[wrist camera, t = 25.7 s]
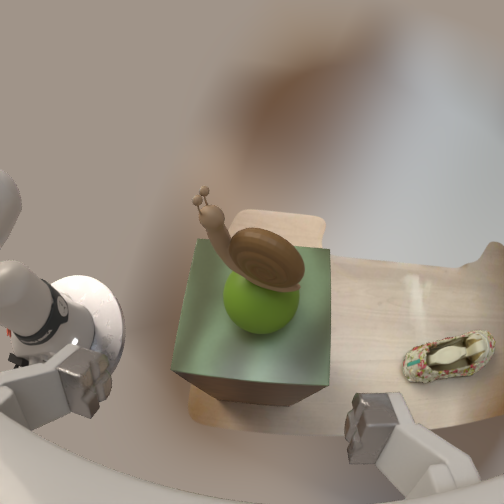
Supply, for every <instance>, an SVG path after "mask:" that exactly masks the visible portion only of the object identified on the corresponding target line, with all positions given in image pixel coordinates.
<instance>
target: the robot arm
mask: <svg viewBox="0 0 504 504" xmlns="http://www.w3.org/2000/svg"><path fill="white" fill-rule="evenodd" d="M21 210H22V203H21V197H20V193H19V189H18V187H17V185H16V184H15V182H14V180H13V179H12V178H11V177H10V176H9V175H8V174H7V173H6V172H5V171H3V170H1V169H0V249H1V247H2V246H3V244H4V243H5V241H6V240H7V239H8V237H9V235H10V233H11V231H12V229H13V226H14V225H15V223H16V220H17V218H18V216H19V214H20V212H21ZM0 325H1V326H4V327H5V328H7V336H8V335H9V336H10V337H11V345H12V349H13V352H14V354H15V355H14V354H12V353H10V355H9V359H8V361H10V362H12V363H15V364H16V365H15V367H14V369H12V370H7V371H3V372H0V504H259V503H249V502H243V501H235V500H229V499H222V498H216V497H211V496H205V495H201V494H196V493H191V492H187V491H183V490H179V489H174V488H171V487H167V486H163V485H160V484H156V483H153V482H149V481H146V480H143V479H140V478H137V477H133V476H131V475H128V474H125V473H122V472H119V471H117V470H114V469H111V468H109V467H106V466H104V465H101V464H98V463H96V462H94V461H91V460H89V459H87V458H84V457H82V456H80V455H78V454H75V453H73V452H71V451H69V450H67V449H65V448H62V447H61V446H59V445H57V444H55V443H52V442H50V441H49V440H47V439H45V438H43V437H41V436H40V435H38V434H36V433H34V432H32V430H34V429H36V428H39V427H41V426H43V425H45V424H47V423H50V422H51V421H54V420H56V419H58V418H60V417H63V416H64V415H67V414H69V413H70V412H74V413H76V414H79V415H81V416H84V417H87V418H90V419H91V418H92V417H93V415H94V414H95V413H96V412H97V410H98V409H99V407H100V406H99V402H101V401H104V400H106V399H107V397H108V396H109V394H110V391H111V388H112V378H111V375H110V373H109V372H108V371H107V368H108V366H109V362H108V357H107V356H106V355H105V354H102V353H99V352H95V351H92V350H89V349H90V347H91V344H92V342H93V337H94V322H93V319H92V316H91V314H90V312H89V311H88V309H87V308H86V307H85V306H83V305H82V304H80V303H77V302H75V301H73V300H72V298H71V297H70V296H69V295H68V294H66V293H61V292H59V291H58V290H56V289H55V288H54V287H53V286H51V284H50V283H48V282H46V281H45V280H43V279H40V278H39V277H38V276H36V275H35V274H34V273H33V272H32V271H31V270H30V269H29V268H28V267H27V266H26V265H25V264H23V263H21V262H19V261H14V260H7V261H2V262H0ZM19 366H20V367H21V368H18V367H19ZM352 406H353V409H352V410H351V411H350V412H348V414H347V417H346V421H345V427H344V434H345V439H346V440H347V441H348V442H349V446H348V448H347V452H348V458H349V464H375V466H376V467H377V468H378V469H379V470H380V471H381V472H382V473H383V474H384V475H385V477H386V478H387V479H388V480H389V481H390V482H391V483H392V484H393V485H394V486H395V487H396V488H397V489H398V490H399V491H400V492H401V493H402V494H403V495H404V497H405V499H404V500H400V501H393V502H385V503H376V504H504V474H502V475H499V476H496V477H493V478H490V479H487V480H485V481H482V480H481V478H480V475H479V473H478V471H477V469H476V467H475V465H474V463H473V461H472V459H471V457H470V456H469V455H467V454H466V453H464V452H462V451H461V450H459V449H457V448H456V447H455V446H453V445H452V444H450V443H448V442H447V441H445V440H444V439H442V438H441V437H439V436H438V435H436V434H434V433H433V432H432V431H430V430H429V429H427V428H426V427H424V426H423V425H421V424H420V423H417V424H415V422H414V419H413V417H412V415H411V413H410V410H409V408H408V406H407V404H406V402H405V400H404V397H403V395H402V394H401V393H400V392H387V393H356V394H355V396H354V397H353V400H352Z"/></svg>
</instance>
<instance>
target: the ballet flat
mask: <svg viewBox="0 0 504 504" xmlns="http://www.w3.org/2000/svg"><path fill="white" fill-rule="evenodd" d="M494 345H495V339H494V338H493V337H492V335H491V334H490V332H487V331H482V330H478V331H470V332H468V333H466V334H464V335H463V334H462V336H457V337H456V336H455V338H454V337H452V338H450V337H449V338H448V337H447V338H445V340H443V339H442V340H441V341H440V340H439V341H438V340H437V341H436V342H432V343H429V342H428V343H426V344H425V345H421V346H416V347H414V348H413V350H412V351H411V352H409V353H407V354H406V359H405V361H404V362H403V367H404V368H403V369H404V375H406V376H407V378H408V380H409V381H410V382H424V383H427V382H428V381H429V382H430V381H431V382H432V381H434V380H435V379H438V378H440V379H441V378H443V377H444V378H446V379H447V378H449V377H453V376H472V375H473V373H476V372H478V370H480V369H481V368H482V367H484V366H485V365H486V363H487V362H488V361H489V360H490V359H491V358H492V355H493V354H494V351H495V346H494Z"/></svg>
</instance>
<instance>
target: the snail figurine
mask: <svg viewBox="0 0 504 504" xmlns="http://www.w3.org/2000/svg"><path fill="white" fill-rule="evenodd" d="M199 194H200V195H201V196H204V199H205V203H206V206H204V207H203V208H201V210H200V209H199V205H200V204H202V197H201V196H200V195H195V196H194V197H193V199H192V203H193V204H194V205H196V206H197V207H198V210H199V221H200V223H201V224H202V226H203V227H204V228H205V229H206V231H207V235H208V238H209V240H210V242H211V244H212V246H213V248H214V249H215V251H216V253H217V254H218V255H219V257H220V258H221V259H222V261H223V262H224V263H225V264H226V265H227V266H228V267H229V268H230V269H231V270H232V272H231V274H230V275H229V277H228V279H227V281H226V283H225V286H224V291H223V301H224V306H225V309H226V312H227V314H228V315H229V317H230V318H231V320H232V321H233V322H234V323H235V324H236V325H237V326H239V327H240V328H241V329H243V330H245V331H248V332H251V333H255V334H268V333H272V332H275V331H277V330H279V329H281V328H283V327H284V326H285V325H287V324H288V323H289V322H290V321H291V319H292V318H293V317H294V315H295V313H296V311H297V308H298V305H299V298H300V293H299V289H300V288H301V286H300V284H299V282H300V281H301V280H302V278H303V276H304V272H305V265H304V261H303V259H302V257H301V255H300V253H299V252H298V251H297V249H296V248H295V247H294V246H293V245H292V244H291V243H289V242H288V241H287V240H285V239H284V238H282V237H281V236H279V235H277V234H275V233H273V232H270V231H268V230H264V229H260V228H246V229H243V230H240V231H238V232H237V233H236V234H235V235H234V236H233V237H232V239H231V237H230V234H229V232H228V230H227V229H226V227H225V225H224V220H225V218H224V213H223V212H222V210H221V209H220V208H219V207H217V206H215V205H208V204H207V202H206V198H205V196H207V195H208V194H209V188H208V187H206V186H202V187H201V188H200V190H199Z"/></svg>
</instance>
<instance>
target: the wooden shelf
mask: <svg viewBox="0 0 504 504" xmlns="http://www.w3.org/2000/svg"><path fill="white" fill-rule="evenodd" d="M294 247H295V248H296V249H297V251H298V252H299V253H300V255H301V257H302V259H303V261H304V265H305V272H304V276H303V278H302V280H301V281H300V282H299V284H300V286H301V288H300V289H299V293H300V298H299V305H298V308H297V311H296V313H295V315H294V317H293V318H292V319H291V321H290V322H289V323H288V324H287V325H285V326H284V327H283V328H281V329H279V330H277V331H275V332H272V333H268V334H255V333H251V332H248V331H245V330H243V329H241V328H240V327H239V326H237V325H236V324H235V323H234V322H233V321H232V320H231V318H230V317H229V315H228V314H227V312H226V309H225V306H224V301H223V291H224V286H225V283H226V281H227V279H228V277H229V275H230V274H231V272H232V270H231V269H230V268H229V267H228V266H227V265H226V264H225V263H224V262H223V261H222V259H221V258H220V257H219V255H218V254H217V253H216V251H215V249H214V248H213V246H212V244H211V242H210V240H209V239H197V242H196V247H195V251H194V255H193V259H192V264H191V268H190V273H189V278H188V282H187V287H186V292H185V296H184V301H183V306H182V311H181V316H180V322H179V327H178V332H177V337H176V342H175V348H174V353H173V359H172V364H171V370H172V371H173V372H175V373H176V374H178V375H179V376H181V377H182V378H184V379H185V380H187V381H188V382H190V383H191V384H193V385H195V386H196V387H198V388H199V389H201V390H203V391H204V392H206V393H207V394H209V395H211V396H212V397H214V398H216V399H217V400H223V401H232V402H240V403H250V404H261V405H273V406H291V405H293V404H295V403H297V402H299V401H301V400H303V399H304V398H306V397H308V396H310V395H312V394H314V393H316V392H318V391H319V390H321V389H323V388H325V387H327V386H329V376H330V345H331V269H330V249H322V248H310V247H298V246H294Z"/></svg>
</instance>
